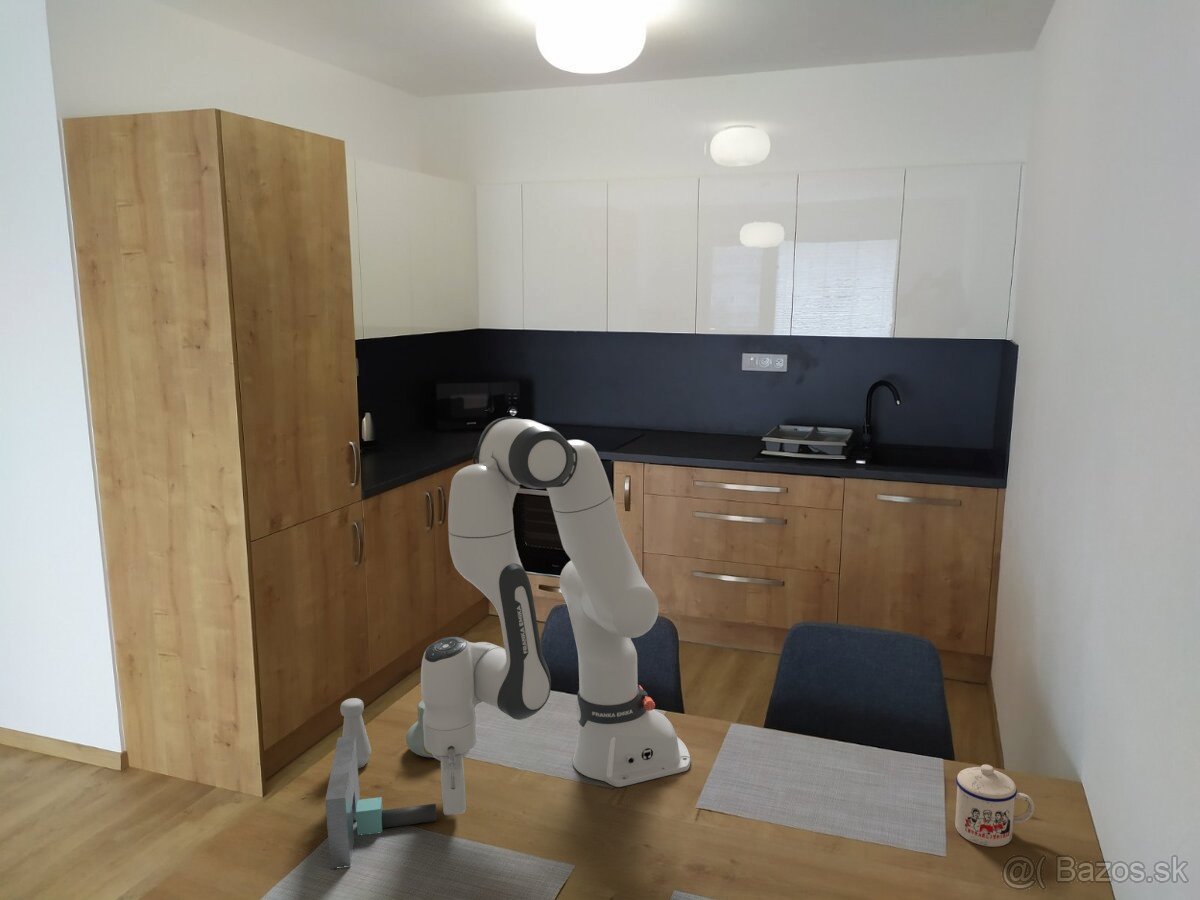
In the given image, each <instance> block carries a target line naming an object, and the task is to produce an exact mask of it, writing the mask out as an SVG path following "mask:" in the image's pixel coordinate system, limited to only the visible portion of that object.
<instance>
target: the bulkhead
mask: <svg viewBox="0 0 1200 900" xmlns="http://www.w3.org/2000/svg"><path fill="white" fill-rule="evenodd" d="M359 780H360V779H359V768H358V765H357V752H356V738H355V736H347V737H342V736H338V737H337V741H336V744H335V751H334V755H333V760H332V765H331V770H330V775H329V780H328V785H327V789H326V794H325V801H324V803H325V813H326V814H325V815H326V826H327V839H328V851H329V862H330V864H329V865H330V869H331V868H337V867H344V866H350V865H351V866H352V860H351V857H353V852H352V850H353V851H354V845H353V843H355V833H354V832H355V830H354V822H357V820H356V808H357V801H358V800H361V799H360V798H361V796H360V793H361V792H360V781H359Z"/></svg>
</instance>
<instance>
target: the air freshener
mask: <svg viewBox="0 0 1200 900" xmlns="http://www.w3.org/2000/svg"><path fill="white" fill-rule="evenodd" d="M424 710H425V706H424V702H423V700H422V699H421V701H420V702H418V704H417V721H416V722H414V723H413V724H412V725H411V726H410V728H409V729H408V731H407V733H406V736H405V741H406V745H407V747H408V749H410V751H411V752H413V754H415V755H418V756H419V757H425V758H431V759H432V758H433V759H435V758H434V757H433V755H432V753H430V752H428V751H427V750H426V749H425V746H424V731H423V715H424Z"/></svg>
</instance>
